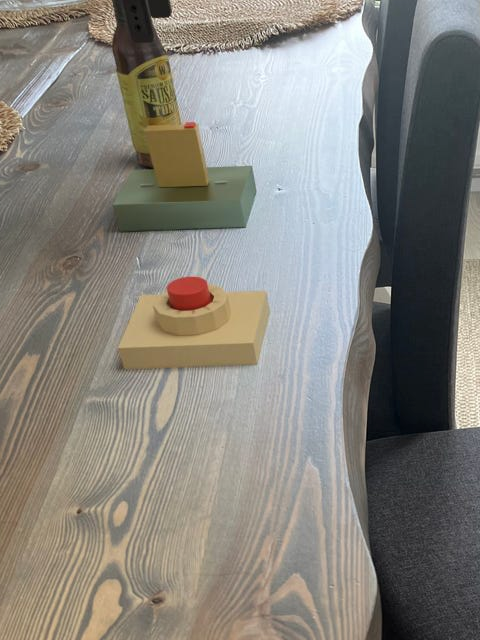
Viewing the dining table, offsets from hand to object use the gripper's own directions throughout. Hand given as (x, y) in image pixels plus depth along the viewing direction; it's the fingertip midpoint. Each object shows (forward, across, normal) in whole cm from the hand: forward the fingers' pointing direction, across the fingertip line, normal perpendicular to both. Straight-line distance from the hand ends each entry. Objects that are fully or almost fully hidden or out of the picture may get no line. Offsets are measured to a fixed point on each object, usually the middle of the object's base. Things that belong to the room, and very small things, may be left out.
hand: (153, 29), depth 101 cm
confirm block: (+19, +28, +5) cm, 34 cm away
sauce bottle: (+19, -18, -7) cm, 27 cm away
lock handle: (+16, -2, -1) cm, 16 cm away
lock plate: (+19, -2, -1) cm, 19 cm away
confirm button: (+15, +28, +5) cm, 33 cm away
